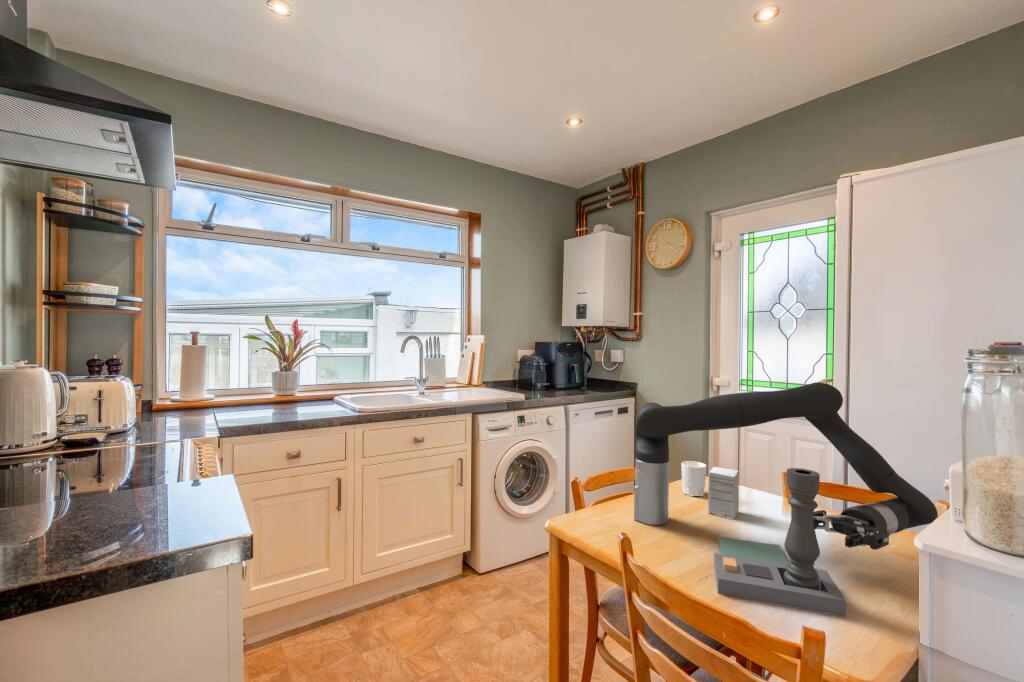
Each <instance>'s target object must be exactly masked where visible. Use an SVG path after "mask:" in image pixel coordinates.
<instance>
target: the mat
mask: <svg viewBox="0 0 1024 682" xmlns="http://www.w3.org/2000/svg"><path fill="white" fill-rule="evenodd" d="M717 541H718V546H719V552H720V554H725V555H731V556H738V557H744V558H750V559H757V560H763V561H769V562H776V563H782V564H788V563H789V561H788V560H787V557H786V555H785V552H784V551H783V549H782V547H781V545H779V544H772V543H765V542H759V541H753V540H746V539H739V538H732V537H724V536H717Z"/></svg>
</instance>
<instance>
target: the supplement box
mask: <svg viewBox="0 0 1024 682" xmlns="http://www.w3.org/2000/svg"><path fill="white" fill-rule="evenodd" d="M739 486H740V471H739V470H736V469H731V468H724V467H718V466H713V467H712V468H711V469H710V470H709V471H708V502H707V503H708V511H707V512H708V514H709V513H712V514H717V515H721V516H725V517H730V518H735V519H736V518H737V516H738V513H739V512H740V511H739V509H740V507H739V505H740V502H739V500H740V497H739V496H740V495H739V494H740V487H739ZM712 514H711V515H712ZM721 516H720V517H721ZM725 517H724V518H725ZM730 518H729V519H730Z"/></svg>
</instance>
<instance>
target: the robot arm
mask: <svg viewBox="0 0 1024 682" xmlns="http://www.w3.org/2000/svg"><path fill="white" fill-rule="evenodd" d="M843 403H844V397H843V395H842V393H841V391H840V390H839V389H838V388H836V387H835V386H834V385H831V384H829V383H826V382H820V381H818V382H812V383H808V384H805V385H801V386H800V385H799V386H796V387H792V388H786V389H780V390H772V391H771V390H768V391H748V392H736V393H735V392H734V393H726V394H721V395H716V396H715V395H714V396H711V397H708V398H704V399H701V400H699V401H695V402H692V403H688V404H682V405H669V406H668V405H665V406H664V405H661V404H659V403H657V402H646V403H644V404H642V405H641V406H640V407H639V408H638V409H637V411H636V414H635V445H634V446H635V472H634V473H635V477H634V478H635V479H634V481H635V482H634V484H635V485H634V489H633V490H634V491H633V492H634V494H633V495H634V496H633V497H634V498H633V501H634V502H633V505H634V507H633V521H636V522H640V523H643V524H646V525H653V526H662V525H665V524H667V523H669V495H670V494H669V493H670V491H669V489H670V488H669V485H670V484H669V483H670V481H669V480H670V447H669V445H670V444H669V436H673V435H677V434H682V433H688V432H694V431H696V432H698V431H699V432H700V431H714V430H718V431H719V430H729V429H739V428H747V427H752V426H758V425H762V424H767V423H771V422H773V421H778V420H779V421H780V420H783V419H790V418H805V419H806V420H807V421H808V422H809V423H810V424H811V425H812V426H813V427H814V428H815V429H817V430H818V431H819V432H820V433H821V435H823V436H824V438H826V439H827V441H829V442H830V444H831V445H832V446H833V447H834V448H835V449H836V450H837V452H839V454H840V455H841V456H842V457H843V458H844V459H845V461H847V462H846V463H848V464H849V465H850V467H851V468H852V469H853V471H854V472H855V473H856V474H857V476H858V477H860V479H861V480H862V481H863V483H864V484H865V485H866V487H868V489H870V490H871V492H874V493H876V494H892V495H894V496H896V497H893V498H890V499H886V500H880V501H876V502H875V501H874V502H867V503H862V504H858V505H854V506H850V507H847V508H845V509H844V510H843V511H842V512H841V513H840V514H837V515H836V514H835V515H832V514H827V511H826V510H824V509H821V510H820V509H819V510H814V520H813V525H814V529H815V530H824V531H825V532H826V533H837V534H840V535H845V537H844V538H845V539H844V546H845V547H846V548H855V547H866V546H868V547H869V548H870V549H872V550H874V551H875V550H879V549H881V548H884V547H886V546H889V544H890V536H891V535H893V534H898V533H900V532H902V531H904V530H907V529H912V528H915V527H920V526H921V527H922V526H926V525H930V524H932V522H933V521H934V520H935V519H936V518H937V519H938V516H939V515H938V510H937V507H936V506H935V504H934V503H933V501H932V500H931V499H930V498H929V497H928V496H926V495H925V494H924V493H923V492H921V490H918V489H917V488H916V487H915V486H913V485H912V484H911V483H909V482H908V481H906V480H905V479H904V478H903V477H902V476H900V475H899V474H898V473H897V472H896V471H895V469H894V468H893V467H892V466H891V465H890V464H889V463H888V461H886V459H885V458H884V457H883V456H882V454H881V453H880V452H878V451H877V449H876V448H874V447H873V446H872V445H871V444H870V443H869V442H867V441H866V440H865V439H864V438H863V437H861V436H860V435H859V434H858V433H857V432H855V431H854V430H853V429H852V428H851V427H850V426H849V425H848V424H847V423H846V422H845V421H844V419H842V417H841V416H840V414H839V413H838V412H839V411H840V410H841V408H842V406H843ZM933 523H934V522H933ZM830 524H831V527H830Z"/></svg>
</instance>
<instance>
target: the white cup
mask: <svg viewBox="0 0 1024 682" xmlns="http://www.w3.org/2000/svg"><path fill="white" fill-rule="evenodd" d="M680 465H681V466H680V467H681V470H680V471H681V486H682V493H683V492H684V493H685V494H688V495H693V496H702V495H704V496H705V487H706V478H707V464H706V463H703V462H700V461H695V460H694V461H692V460H684V461H681V464H680ZM684 493H683V494H684ZM685 494H684V495H685ZM688 495H687V496H688ZM702 497H703V496H702Z"/></svg>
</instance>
